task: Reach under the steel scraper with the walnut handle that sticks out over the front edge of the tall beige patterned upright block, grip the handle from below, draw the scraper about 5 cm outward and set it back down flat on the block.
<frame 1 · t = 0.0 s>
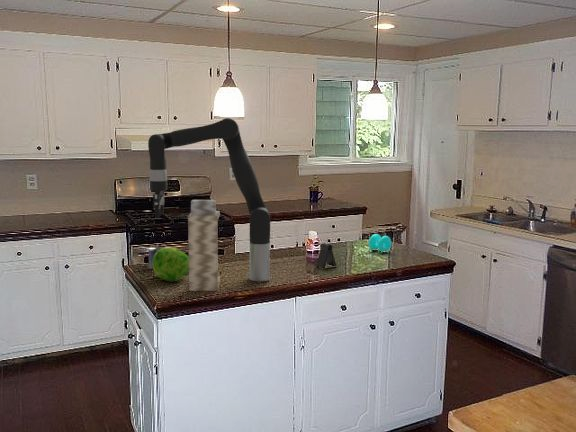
hand: (159, 215, 239), 29 cm above the counter, fingers open, 8 cm apart
lettuce: (170, 279, 243), on the counter
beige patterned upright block: (205, 285, 235), on the counter
door stopper: (326, 267, 271), on the counter
flask: (158, 268, 265), on the counter
scraper: (205, 211, 235), point 32 cm above the counter, touching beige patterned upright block
donuts: (379, 252, 309), on the counter
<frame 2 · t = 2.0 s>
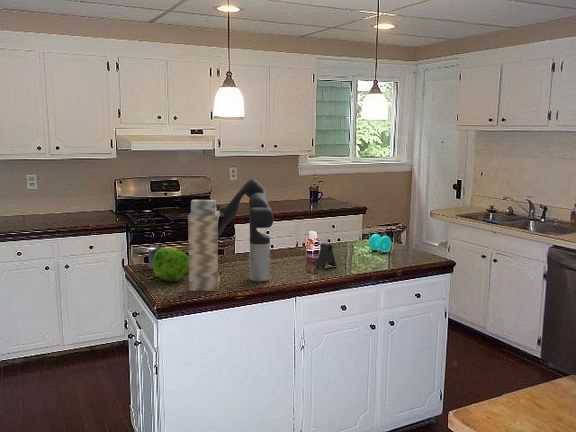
hand: (208, 206, 257), 31 cm above the counter, fingers open, 8 cm apart
nothing on the counter moved.
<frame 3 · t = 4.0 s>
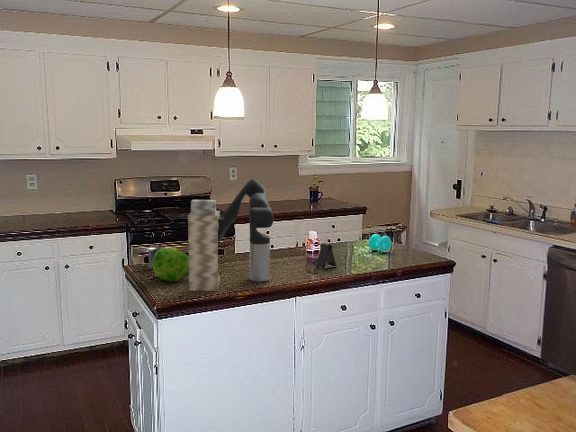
hand: (208, 209, 248), 31 cm above the counter, fingers open, 8 cm apart
nothing on the counter moved.
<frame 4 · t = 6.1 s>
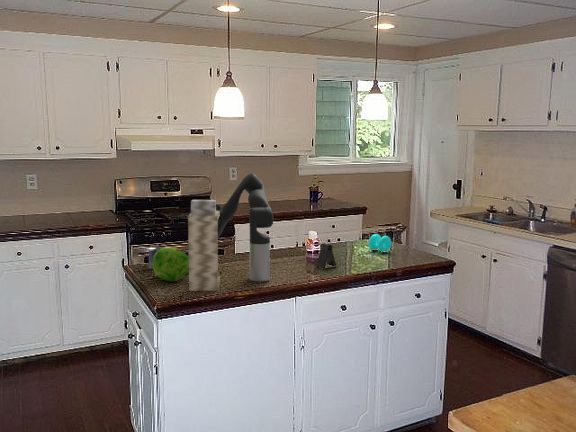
hand: (206, 203, 241), 35 cm above the counter, fingers closed on scraper, 3 cm apart
scraper: (205, 211, 235), point 32 cm above the counter, touching gripper, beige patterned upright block
everything else where it was.
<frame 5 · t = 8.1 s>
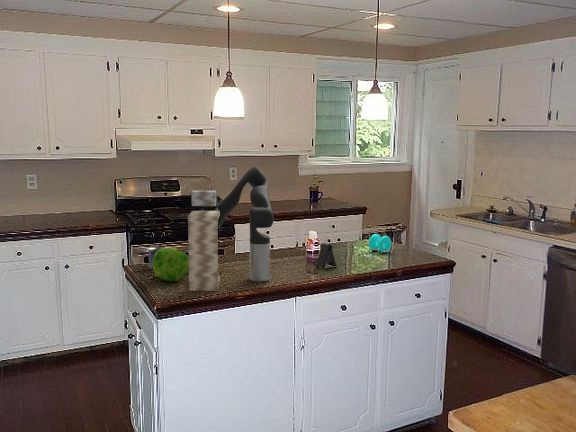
hand: (207, 194, 243), 39 cm above the counter, fingers closed on scraper, 3 cm apart
scraper: (205, 202, 237), point 36 cm above the counter, touching gripper
everything else where it was.
when the fingers open (35 cm above the counter, at t = 9.9 s): scraper stays where it is, resting on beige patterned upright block.
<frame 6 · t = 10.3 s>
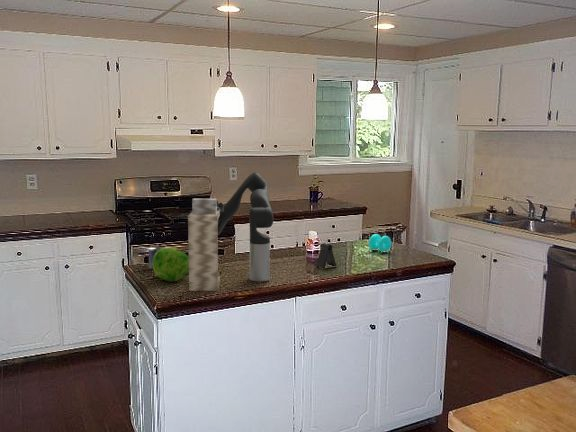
hand: (207, 201, 246), 35 cm above the counter, fingers open, 6 cm apart
scraper: (206, 210, 240), point 32 cm above the counter, touching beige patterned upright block
everything else where it was.
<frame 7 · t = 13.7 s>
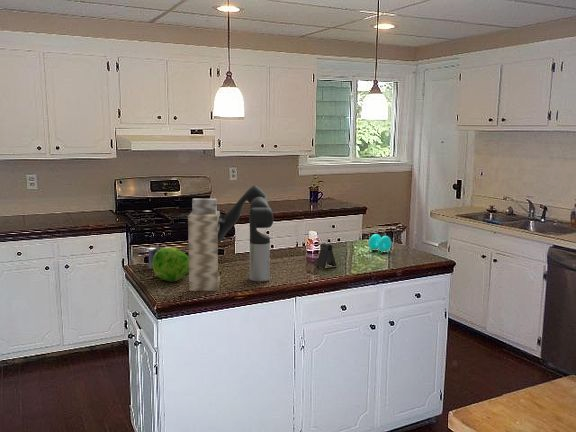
hand: (209, 213, 259), 28 cm above the counter, fingers open, 8 cm apart
nothing on the counter moved.
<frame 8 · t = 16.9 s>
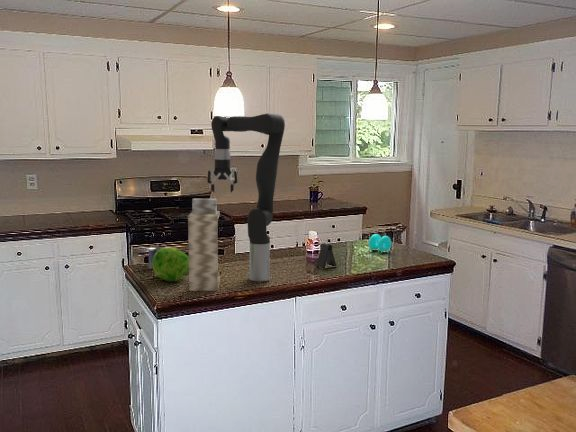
hand: (222, 192, 259), 38 cm above the counter, fingers open, 8 cm apart
nothing on the counter moved.
at the end: scraper inside the target area (0.3 cm from its centre), point 32.0 cm above the counter; scraper tilted 0°; the gripper is holding nothing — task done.
